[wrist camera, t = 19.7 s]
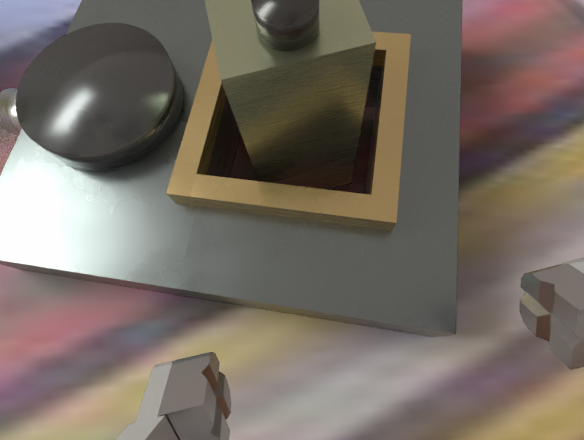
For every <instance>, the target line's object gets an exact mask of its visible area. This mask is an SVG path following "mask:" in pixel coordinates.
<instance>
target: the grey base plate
mask: <svg viewBox="0 0 584 440" xmlns="http://www.w3.org/2000/svg"><path fill="white" fill-rule="evenodd" d="M359 2H360V4H361V7H362V9H363V11H364V14H365V16H366V19H367V21H368V24H369V26H370V29H371V31H372V33H373V36H374V38H375V41H376V46H375V52H374V57H373V63H372V69H371V74H370V80H369V86H368V91H367V97H366V103H365V106H371V107H374V113H373V122H372V131H371V140H370V149H369V158H368V167H367V177H366V186H365V194H360V193H352V192H344V191H335V190H327V189H318V188H310V187H302V186H293V185H285V184H277V183H268V182H260V181H251V180H243V179H235V178H229V177H230V173H231V169H232V165H233V160H234V156H235V152H236V148H237V144H238V140H239V136H240V130H239V128H238V125H237V122H236V120H235V117H234V114H233V112H232V109H231V106H230V103H229V101H228V98H227V95H226V93H225V90H224V87H223V85H222V82H221V79H220V74H219V69H218V64H217V59H216V54H215V49H214V44H213V39H212V34H211V30H210V25H209V20H208V15H207V10H206V5H205V0H82V1H81V3H80V6H79V8H78V10H77V12H76V14H75V16H74V18H73V21H72V23H71V25H70V27H69V29H68V31H67V33H66V35H64V36H62V37H61V38H59V39H57V40H56V41H54V42H53V43H52V44H50V45H49V46H48V47H46V48H45V49H44V50H43V51H42V52H41V53H40V54H39V55H38V56H37V57H36V58H35V59H34V60H33V61H32V63H31V64H30V65H29V67H28V68H27V70H26V71H25V73H24V75H23V77H22V79H21V81H20V84H19V87H18V89H17V88H7V89H4V90H3V91H1V92H0V125H1V127H2V128H3V129H5V130H6V131H7V132H9V133H12V134H18V135H19V136H18V139H17V141H16V143H15V145H14V147H13V149H12V151H11V154H10V156H9V158H8V160H7V162H6V164H5V166H4V169H3V171H2V173H1V175H0V264H1V265H5V266H9V267H13V268H16V269H21V270H27V271H33V272H39V273H45V274H51V275H58V276H64V277H70V278H76V279H82V280H88V281H94V282H100V283H106V284H113V285H119V286H125V287H131V288H137V289H143V290H149V291H155V292H161V293H167V294H174V295H180V296H186V297H192V298H198V299H204V300H210V301H216V302H222V303H229V304H235V305H241V306H247V307H253V308H259V309H265V310H271V311H277V312H284V313H290V314H296V315H302V316H308V317H314V318H320V319H326V320H332V321H338V322H345V323H351V324H357V325H363V326H369V327H375V328H381V329H387V330H393V331H400V332H406V333H412V334H418V335H424V336H430V337H434V336H442V335H450V334H456V300H457V249H458V199H459V148H460V98H461V47H462V0H359Z"/></svg>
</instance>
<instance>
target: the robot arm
mask: <svg viewBox="0 0 584 440" xmlns="http://www.w3.org/2000/svg"><path fill="white" fill-rule="evenodd" d="M521 288H522V289H523V290H524V291H525V292H526V293H525V294H524V296H523V297H522V298H521V300H520V313H521V316H522V319H523V322H524V323H525V325H526V326H527V328H528V329H529V330H530V331H531V332H532V333H533V334H534V335H535V336H536V337H539V338H541V339H544V340H546V341H548V345H549V350H550V351H551V352H552V353H553V354H554V355H555V356H556V357H557V358H558V359H559V360H561V361H562V362H563V363H564V364H565V365H566V366H567V367H568V368H569V369H570V370H572V369H576V368H581V367H584V258H581V259H577V260H573V261H570V262H566V263H563V264H560V265H556V266H552V267H548V268H544V269H540V270H536V271H533V272H529V273H525V274H524V275H523V277H522V278H521ZM219 363H220V362H219V360H218V358H217V356H216V354H215V353H214V352H209V353H205V354H200V355H196V356H192V357H187V358H183V359H178V360H175V361H171V362H167V363H162V364H158V365H156V366H155V367H154V368H153V369H152V371H151V374H150V377H149V381H148V384H147V387H146V390H145V393H144V397H143V400H142V403H141V406H140V409H139V413H138V416H137V419H136V422H135V423H132V424H129V425H128V426H127V427H126V429H125V430H124V431H123V432H122V433H121V434H120V435H119V436H118V437H117V439H116V440H229V436H230V429H229V427H228V424H227V422H226V419H227V418H228V416H229V415H230V413H231V398H230V390H229V386H228V382H227V379H226V377H225V375H224V374H222V373H221V372H219Z"/></svg>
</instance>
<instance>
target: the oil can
mask: <svg viewBox="0 0 584 440" xmlns="http://www.w3.org/2000/svg"><path fill="white" fill-rule="evenodd" d="M205 5H206V10H207V15H208V20H209V25H210V30H211V34H212V39H213V44H214V49H215V54H216V59H217V64H218V69H219V74H220V79H221V82H222V85H223V87H224V90H225V93H226V95H227V98H228V101H229V103H230V106H231V109H232V112H233V114H234V117H235V120H236V122H237V125H238V128H239V130H240V133H241V136H242V139H243V141H244V144H245V147H246V149H247V152H248V155H249V157H250V160H251V163H252V166H253V168H254V171H255V174H256V176H257V179H258V181H260V182H268V183H277V184H285V185H293V186H302V187H310V188H318V189H330V188H334V187H338V186H342V185H346V184H350V183H351V182H352V176H353V171H354V165H355V159H356V154H357V148H358V142H359V137H360V131H361V125H362V120H363V114H364V108H365V103H366V97H367V91H368V86H369V80H370V74H371V69H372V63H373V57H374V52H375V46H376V41H375V38H374V36H373V33H372V31H371V29H370V26H369V24H368V21H367V19H366V16H365V14H364V11H363V9H362V7H361V4H360V2H359V0H205Z"/></svg>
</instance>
